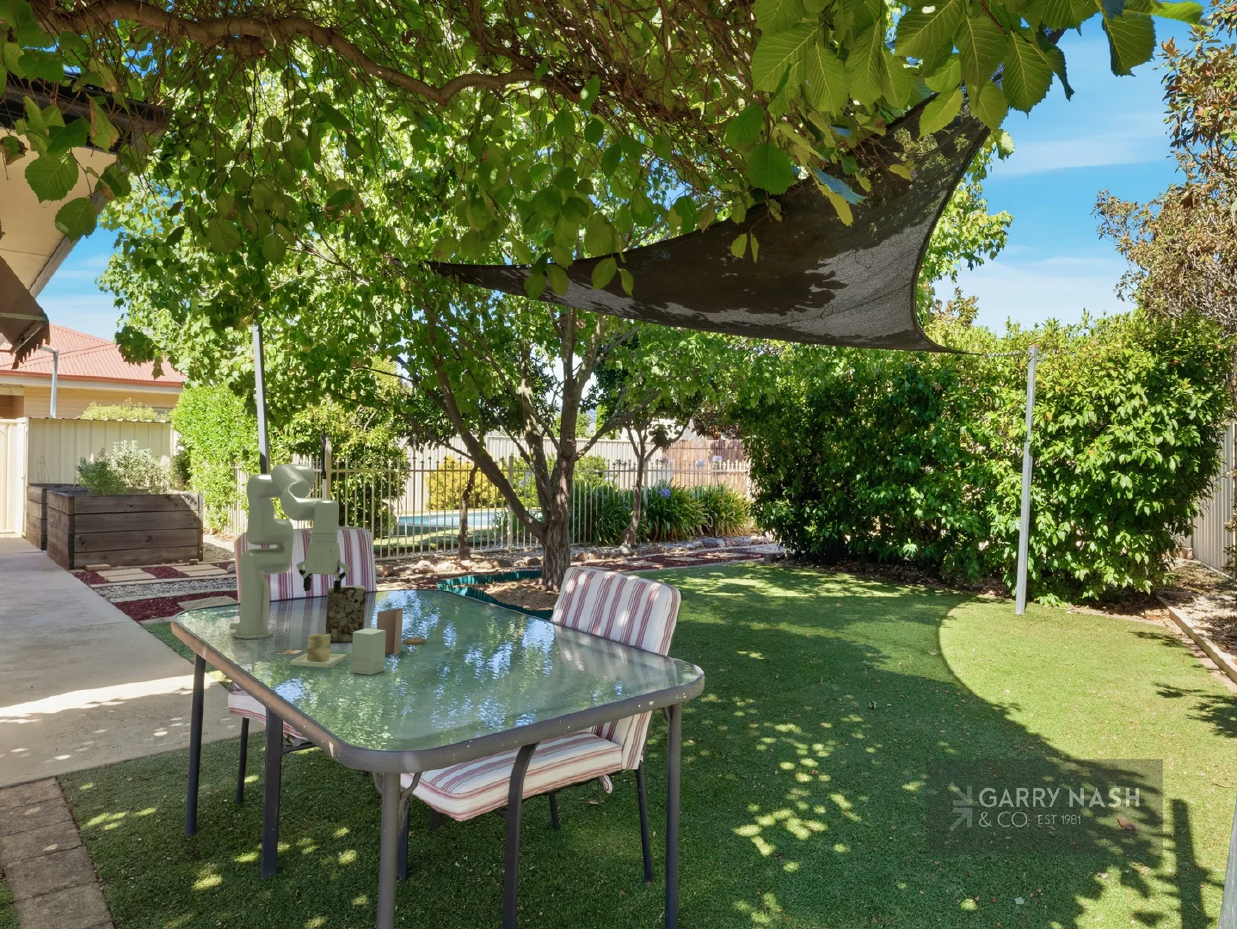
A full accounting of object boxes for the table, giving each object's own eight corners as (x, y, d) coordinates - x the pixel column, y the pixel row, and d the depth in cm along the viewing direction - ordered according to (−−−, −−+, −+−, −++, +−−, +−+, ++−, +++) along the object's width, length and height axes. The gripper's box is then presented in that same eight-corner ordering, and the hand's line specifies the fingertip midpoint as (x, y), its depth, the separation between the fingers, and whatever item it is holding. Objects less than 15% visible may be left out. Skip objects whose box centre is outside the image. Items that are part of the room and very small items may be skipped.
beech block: (307, 661, 251) (308, 636, 251) (314, 658, 256) (315, 633, 256) (322, 662, 250) (323, 637, 250) (329, 659, 255) (330, 634, 255)
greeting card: (399, 650, 274) (401, 607, 274) (414, 653, 270) (416, 610, 271) (373, 656, 264) (375, 611, 265) (389, 659, 260) (391, 614, 261)
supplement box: (385, 670, 247) (387, 630, 247) (370, 675, 240) (372, 634, 240) (365, 667, 249) (367, 627, 249) (350, 672, 242) (352, 631, 242)
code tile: (266, 655, 259) (266, 654, 259) (284, 647, 271) (284, 646, 271) (301, 657, 258) (301, 656, 258) (318, 649, 270) (318, 648, 270)
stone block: (361, 638, 290) (364, 584, 291) (364, 642, 284) (367, 587, 284) (323, 640, 284) (326, 585, 284) (326, 644, 278) (329, 587, 278)
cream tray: (289, 665, 247) (290, 660, 247) (308, 656, 260) (308, 652, 260) (329, 668, 246) (329, 663, 246) (345, 659, 259) (346, 654, 259)
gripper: (293, 537, 250) (290, 591, 250) (346, 540, 249) (343, 595, 249) (304, 535, 258) (301, 588, 258) (355, 539, 257) (352, 591, 256)
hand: (321, 591), depth 253 cm, fingers open, 9 cm apart
